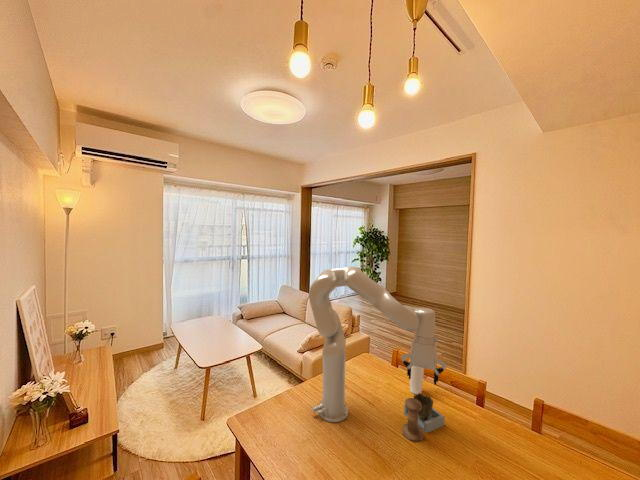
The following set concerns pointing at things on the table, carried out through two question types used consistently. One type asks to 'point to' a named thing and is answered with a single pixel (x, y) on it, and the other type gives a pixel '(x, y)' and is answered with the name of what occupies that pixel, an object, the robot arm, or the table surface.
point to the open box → (429, 420)
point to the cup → (424, 406)
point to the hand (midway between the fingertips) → (422, 380)
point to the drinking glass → (416, 379)
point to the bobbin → (412, 421)
